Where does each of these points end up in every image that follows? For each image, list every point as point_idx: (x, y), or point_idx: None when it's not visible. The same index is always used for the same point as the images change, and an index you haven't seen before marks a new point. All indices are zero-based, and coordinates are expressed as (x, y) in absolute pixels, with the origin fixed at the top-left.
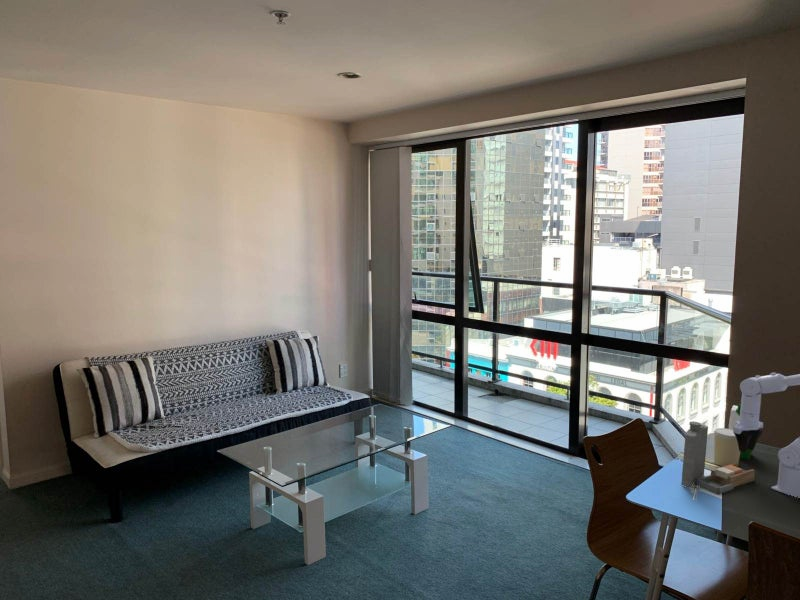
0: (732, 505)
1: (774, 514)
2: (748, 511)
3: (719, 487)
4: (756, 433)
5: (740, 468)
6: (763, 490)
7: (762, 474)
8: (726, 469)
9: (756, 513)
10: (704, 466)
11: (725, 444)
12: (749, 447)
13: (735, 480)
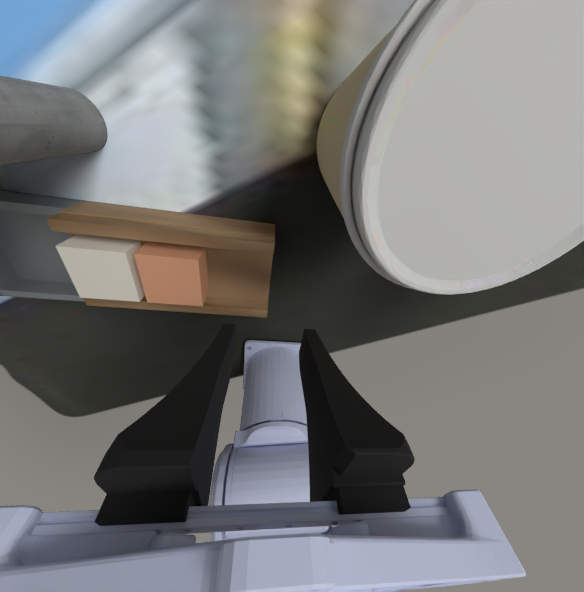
0: (13, 332)
1: (102, 387)
2: (39, 361)
3: (6, 291)
4: (312, 485)
5: (198, 301)
6: (215, 333)
7: (351, 287)
8: (115, 275)
9: (55, 372)
10: (55, 156)
11: (332, 183)
12: (303, 351)
13: None
